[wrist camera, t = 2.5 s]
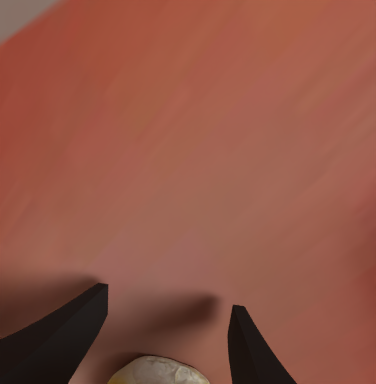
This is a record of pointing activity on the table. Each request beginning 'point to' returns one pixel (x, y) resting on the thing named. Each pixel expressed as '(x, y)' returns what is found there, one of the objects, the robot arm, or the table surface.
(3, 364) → the robot arm
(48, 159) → the table surface
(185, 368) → the bread roll
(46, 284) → the table surface
